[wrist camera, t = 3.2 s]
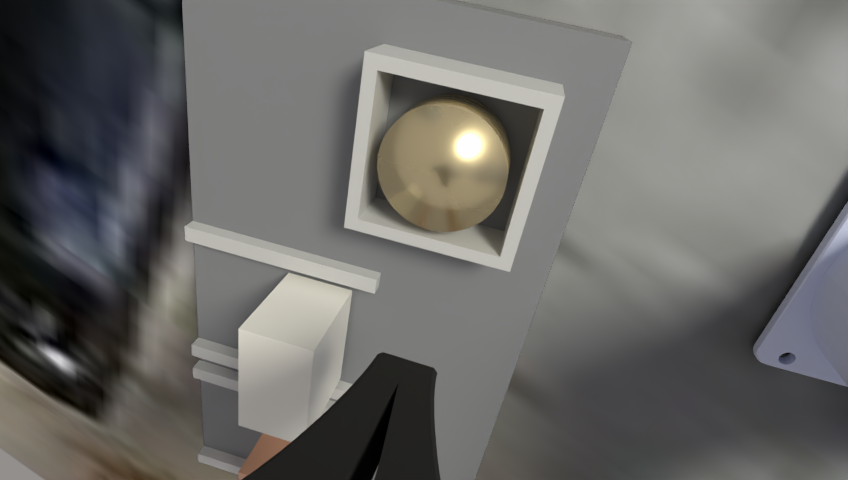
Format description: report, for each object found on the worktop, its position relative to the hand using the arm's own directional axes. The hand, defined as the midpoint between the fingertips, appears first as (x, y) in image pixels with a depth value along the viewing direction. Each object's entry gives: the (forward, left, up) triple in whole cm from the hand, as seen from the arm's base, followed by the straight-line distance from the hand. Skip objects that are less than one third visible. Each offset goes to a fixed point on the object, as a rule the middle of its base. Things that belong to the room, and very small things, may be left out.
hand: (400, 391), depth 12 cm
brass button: (+1, -4, -6) cm, 7 cm away
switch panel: (+3, +3, -8) cm, 10 cm away
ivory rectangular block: (+4, +4, -6) cm, 9 cm away
